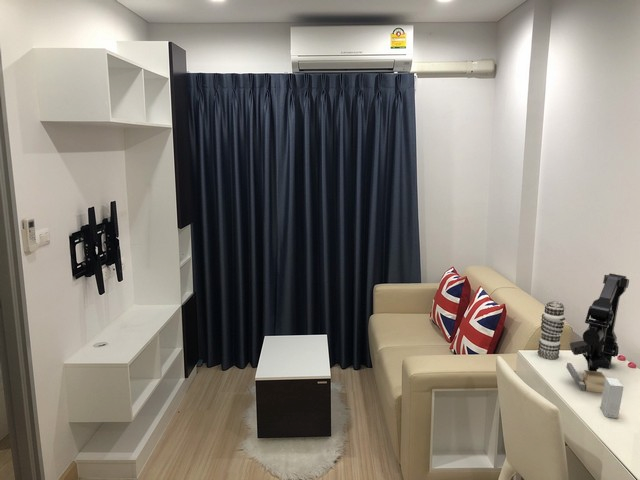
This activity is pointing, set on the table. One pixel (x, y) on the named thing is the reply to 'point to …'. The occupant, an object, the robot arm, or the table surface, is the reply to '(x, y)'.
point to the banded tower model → (551, 330)
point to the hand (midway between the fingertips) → (590, 375)
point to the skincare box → (611, 397)
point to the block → (594, 381)
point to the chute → (576, 377)
